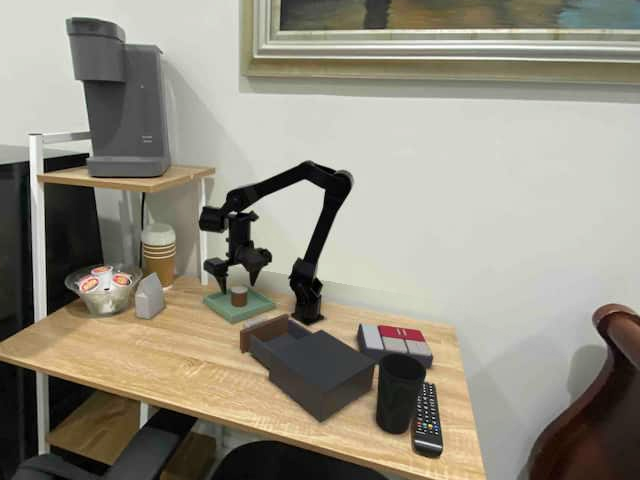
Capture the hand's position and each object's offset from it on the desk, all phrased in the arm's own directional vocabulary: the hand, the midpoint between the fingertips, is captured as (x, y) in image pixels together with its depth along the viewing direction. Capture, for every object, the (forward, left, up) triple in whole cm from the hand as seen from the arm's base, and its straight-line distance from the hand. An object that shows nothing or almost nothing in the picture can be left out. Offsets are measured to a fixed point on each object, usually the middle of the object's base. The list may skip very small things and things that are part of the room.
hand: (238, 290), depth 106 cm
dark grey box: (+6, +37, -5) cm, 38 cm away
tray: (0, 0, -5) cm, 5 cm away
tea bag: (+21, -10, -5) cm, 24 cm away
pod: (0, 0, -4) cm, 4 cm away
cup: (+3, +52, -5) cm, 52 cm away
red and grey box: (-16, +39, -5) cm, 43 cm away
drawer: (+6, +23, -4) cm, 24 cm away
